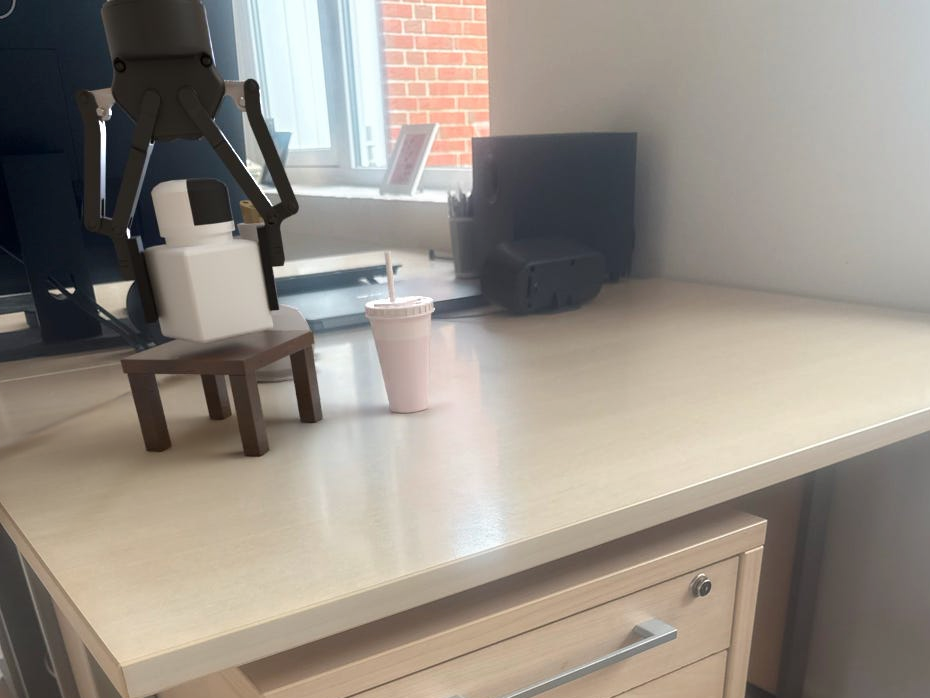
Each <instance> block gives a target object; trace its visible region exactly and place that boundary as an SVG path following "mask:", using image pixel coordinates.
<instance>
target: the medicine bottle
mask: <svg viewBox="0 0 930 698" xmlns="http://www.w3.org/2000/svg"><path fill="white" fill-rule="evenodd" d="M150 195H151V198H152V203H153V208H154V212H155V213H154V214H155V217H156V218H155V219H156V222H157V227H158V231H159V236H160V238H164V240H165V244H160V245H153V246H150V247H146V248H145V249H144V257H145V261H146V266H147V270H148V275H149V279H150V283H151V288H152V292H153V296H154V301H155V305H156V310H157V314H158V322H159V326H160V327H159V328H160V332H161V334H162V336H164V337H166V338H169V339H170V338H171V339H174V340H176V339H180V340H185V341H190V342H196V343H201V344H206V343H211V342H215V341H220V340H225V339H229V338H234V337H239V336H243V335H248V334H253V333H257V332H262V331H267V330H271V329H272V328H273V321H272V315H271V311H270V305H269V299H268V294H267V288H266V282H265V276H264V270H263V264H262V258H261V253H260V247H259V243H258V242H257V241H254V240H246V239H242V238H234V236H233V232H234V231H236V227H235V221H234V216H233V210H232V205H231V198H230V194H229V187H228V186H227V184H226V183H225V182H224V181H221V180H220V179H217V178H214V177H213V178H211V177H192V178H182V179H181V178H179V179H172V180H168V181H162V182H160V183H158V184H157V185H155V186H154V187H153V188H152V190H151V192H150Z"/></svg>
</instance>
